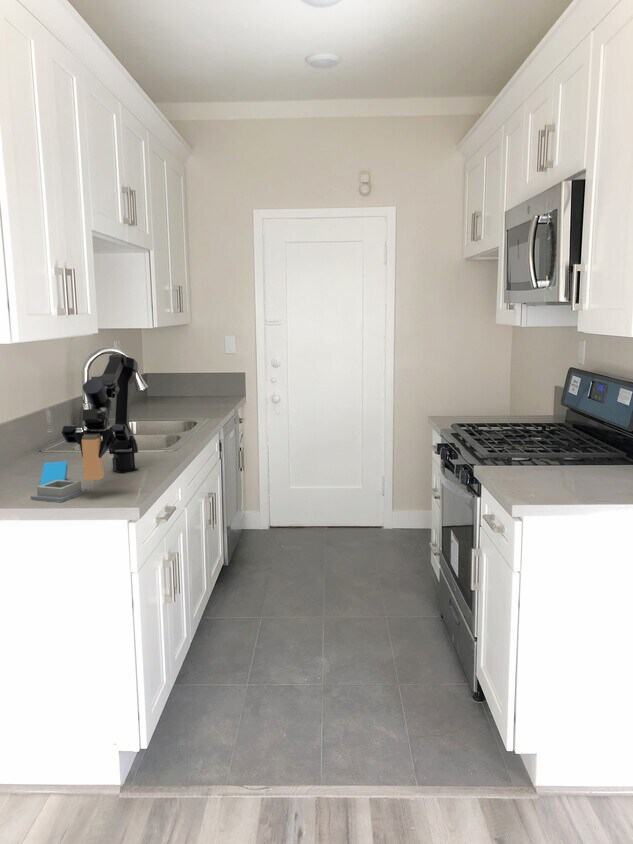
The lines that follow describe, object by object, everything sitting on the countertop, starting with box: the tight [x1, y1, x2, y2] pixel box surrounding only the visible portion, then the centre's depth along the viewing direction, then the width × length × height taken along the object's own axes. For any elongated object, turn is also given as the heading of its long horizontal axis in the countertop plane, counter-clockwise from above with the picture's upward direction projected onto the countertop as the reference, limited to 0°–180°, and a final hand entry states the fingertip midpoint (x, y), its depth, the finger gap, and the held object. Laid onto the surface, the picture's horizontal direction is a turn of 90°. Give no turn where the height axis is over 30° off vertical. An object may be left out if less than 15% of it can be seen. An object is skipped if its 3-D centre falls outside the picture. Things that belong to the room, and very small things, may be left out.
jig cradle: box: [30, 479, 89, 503], centre depth 204 cm, size 12×11×4 cm
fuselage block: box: [82, 434, 105, 481], centre depth 201 cm, size 4×4×13 cm
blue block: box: [39, 461, 68, 486], centre depth 220 cm, size 7×7×18 cm
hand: (91, 457), depth 199 cm, fingers closed on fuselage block, 4 cm apart
